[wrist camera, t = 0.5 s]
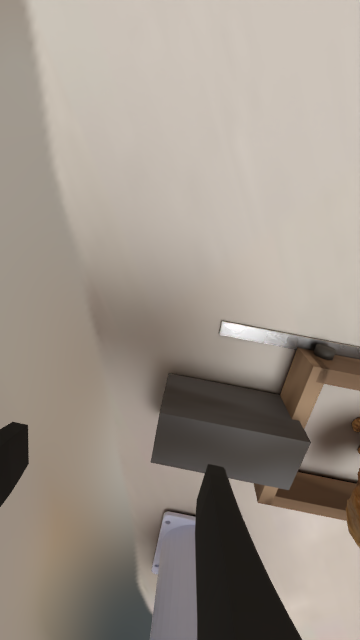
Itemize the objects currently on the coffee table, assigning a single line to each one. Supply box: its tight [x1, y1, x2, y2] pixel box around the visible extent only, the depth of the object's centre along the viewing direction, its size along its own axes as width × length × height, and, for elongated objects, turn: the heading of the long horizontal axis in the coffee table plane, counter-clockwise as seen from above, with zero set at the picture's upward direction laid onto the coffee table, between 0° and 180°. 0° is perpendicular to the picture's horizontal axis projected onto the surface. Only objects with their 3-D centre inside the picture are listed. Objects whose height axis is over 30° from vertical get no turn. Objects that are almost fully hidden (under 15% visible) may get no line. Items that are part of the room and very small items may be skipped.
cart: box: [151, 344, 360, 521], centre depth 17 cm, size 13×23×4 cm, turn 80°
